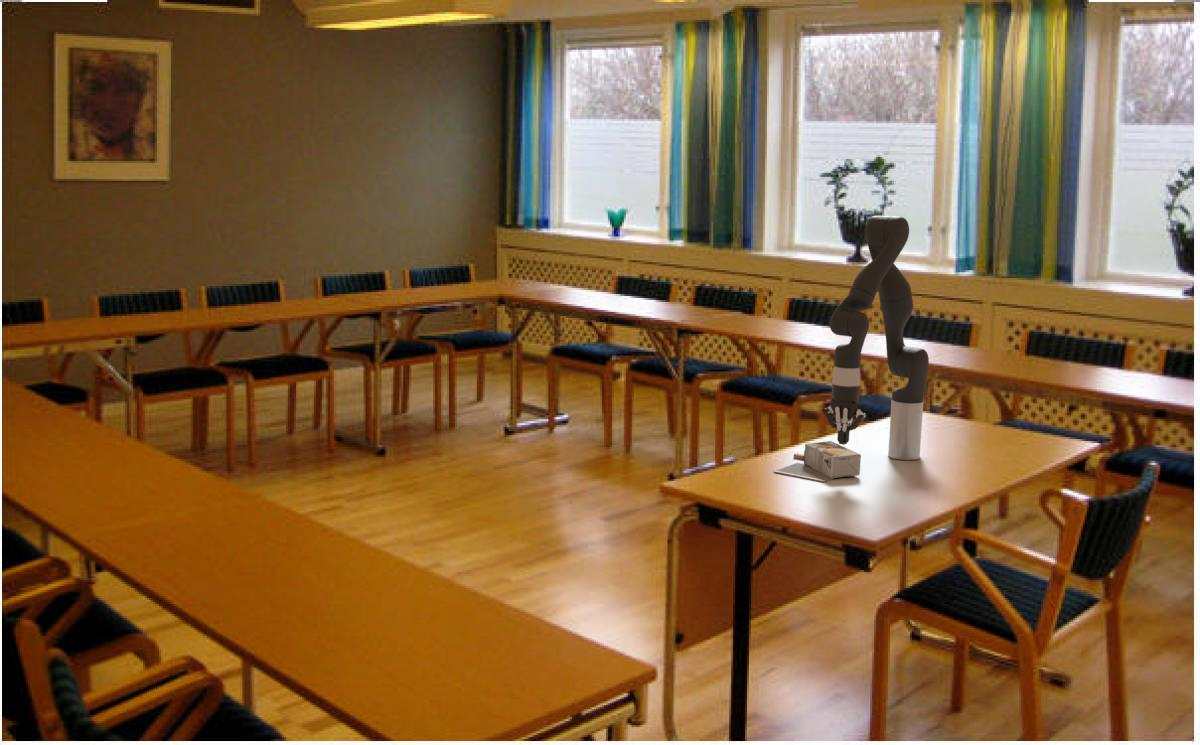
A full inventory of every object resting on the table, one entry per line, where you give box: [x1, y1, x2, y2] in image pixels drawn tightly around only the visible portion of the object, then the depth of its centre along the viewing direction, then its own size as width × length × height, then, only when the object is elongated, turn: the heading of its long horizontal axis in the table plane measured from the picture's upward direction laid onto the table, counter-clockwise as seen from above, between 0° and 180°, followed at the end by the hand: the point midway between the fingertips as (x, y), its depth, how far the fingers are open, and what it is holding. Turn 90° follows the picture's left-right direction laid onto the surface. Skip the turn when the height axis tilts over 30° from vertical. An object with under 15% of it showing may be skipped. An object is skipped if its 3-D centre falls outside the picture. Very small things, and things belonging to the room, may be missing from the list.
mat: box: [773, 461, 835, 483], centre depth 384 cm, size 14×16×1 cm
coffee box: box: [803, 440, 862, 479], centre depth 385 cm, size 9×6×16 cm
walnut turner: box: [793, 452, 804, 461], centre depth 396 cm, size 18×6×1 cm, turn 52°
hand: (842, 443), depth 376 cm, fingers closed
